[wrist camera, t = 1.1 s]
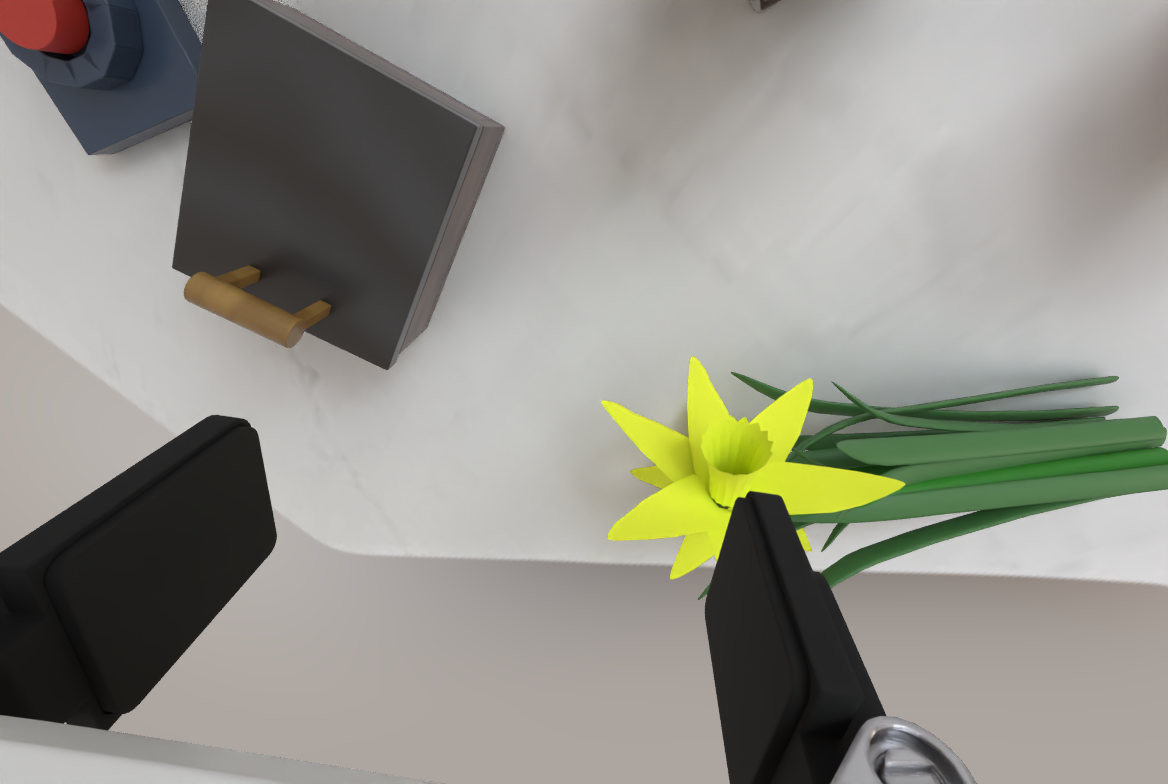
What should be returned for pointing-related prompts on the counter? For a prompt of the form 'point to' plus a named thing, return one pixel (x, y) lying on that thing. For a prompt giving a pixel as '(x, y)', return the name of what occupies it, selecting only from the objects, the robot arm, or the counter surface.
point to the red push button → (45, 24)
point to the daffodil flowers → (879, 467)
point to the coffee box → (762, 4)
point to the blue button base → (123, 73)
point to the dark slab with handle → (312, 186)
